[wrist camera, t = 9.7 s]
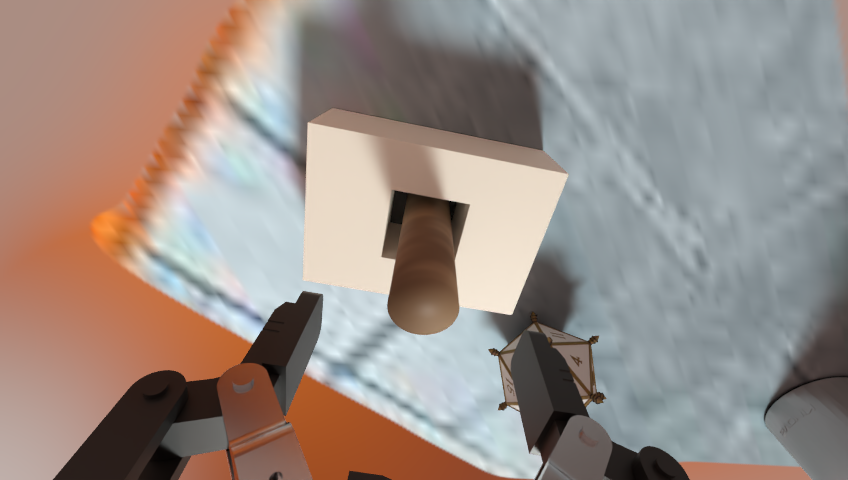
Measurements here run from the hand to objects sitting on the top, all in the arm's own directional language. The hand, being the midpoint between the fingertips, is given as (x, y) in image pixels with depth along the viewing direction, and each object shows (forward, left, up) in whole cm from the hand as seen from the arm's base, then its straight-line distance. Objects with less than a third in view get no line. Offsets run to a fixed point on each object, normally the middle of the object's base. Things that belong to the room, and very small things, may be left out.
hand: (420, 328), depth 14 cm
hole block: (0, 0, -13) cm, 13 cm away
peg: (0, 0, -13) cm, 13 cm away
